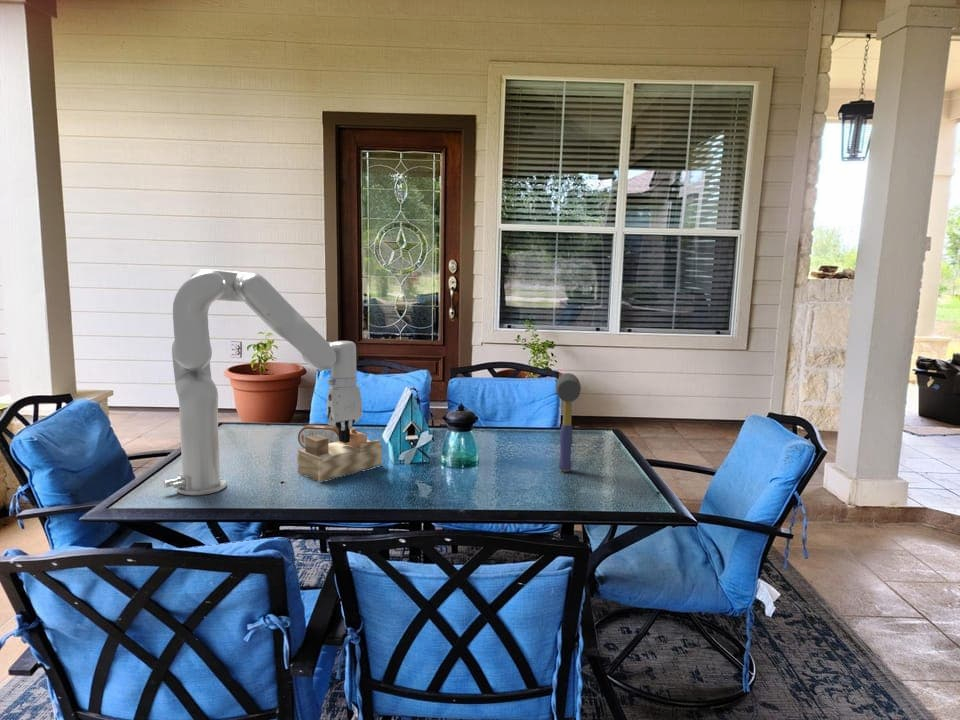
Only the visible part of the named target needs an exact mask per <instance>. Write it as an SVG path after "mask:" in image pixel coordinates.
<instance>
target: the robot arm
mask: <svg viewBox="0 0 960 720" xmlns="http://www.w3.org/2000/svg"><path fill="white" fill-rule="evenodd" d="M215 301H225V302H227V301H229V302H242V303H245V304H246V305H247V307H249V309H251V310H252V311H253V312H254V313H255V314H256V316H258V318H260V319H261V320H262V321H263V322H264V323H265V324H266V326H268V327H269V328H270V329H271V331H273V332H274V333H275V334H277V335H278V336H279V337H281V338H282V339H284V340H285V341H287V342H288V343H289V344H290V345H292V346H293V347H294V349H296V350H297V351H298V352H299V353H300V354H301V357H302V359H303V361H304V362H305V363H306V364H307V365H309V366H311V367H313V368H314V369H316V370H318V371H328V370H330V379H329V380H328V381H327V385H328V386H330V387H329V388H328V392H327V399H326V418H327V420H328V421H327V426H335V427H337V429H339V441H340V442H342V443H348V442H350V429H352V428H353V425H354V424H355V422H356V423H357V422H359V421H360V419H361V418H362V416H363V402H362V401H363V400H362V395H361V389H360V386H359V385H357V346H356V343H355V342H354V341H350V340H336V341H327V340H326V339H325V338H324V337H323V335H322V334H321V333H319V332H318V330H316V328H314V327H313V326H312V325H311V324H310V323H309V322H308V321H307V320H306V319H305V318H304V317H303V316H302V315H301V314H300V313H299V312H298V311H297V310H296V308H294V307H293V306H292V304H290V303H289V301H288V300H286V299H285V298H284V297H283V296H282V294H280V293H279V291H277V289H276V288H275V287H274V286H273V285H272V284H271V283H270V282H269V281H268V280H267V279H266V278H265V277H264V276H263V275H260V274H258V273H257V272H256V273H255V272H244V271H243V272H241V271H231V270H219V269H209V268H202V269H197V270H196V271H194V272H193V273H192V274H191V276H190V277H189V278H188V279H187V281H185V282H184V283H183V284H182V285H181V286H180V287H179V289H178V291H177V292H176V294H175V297H174V300H173V304H172V322H173V337H174V338H173V339H174V340H173V342H172V345H171V358H172V367H173V375H174V383H175V390H176V394H177V398H178V405H179V408H178V409H179V435H180V452H181V455H180V456H181V470H182V471H181V472H179V473H178V476H175V478H174V479H168V480H164V481H163V488H165V489H166V488H171V487H172V488H173V489H176V491H177V493H179V494H181V495H186V496H204V495H209V494H214V493H217V492H220V491H222V490H223V489H225V488H226V487H227V480H226V479H225V478H222V477H221V469H220V468H221V465H220V464H221V463H220V442H219V441H220V440H219V439H220V438H219V436H220V435H219V422H218V421H219V419H218V418H219V412H218V411H219V394H218V393H219V392H218V387H217V385H216V384H215V382H214V380H213V379H212V373H211V372H212V370H211V362H210V361H211V359H212V353H213V351H212V350H213V349H212V346H211V345H212V344H211V341H210V339H211V338H210V331H209V315H208V314H209V308H210V306H211V305H212V304H213V302H215Z"/></svg>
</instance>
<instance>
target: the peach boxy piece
mask: <svg viewBox="0 0 960 720" xmlns="http://www.w3.org/2000/svg"><path fill="white" fill-rule="evenodd" d="M367 436H368V435H367V434H366V433H363V432H360V431H357V428H356V427H352V428H351V429H350V442H348V443H347V444H350V445H352V446H355V447H358V448H359V444H361V443H365V442H367V440H368V437H367Z"/></svg>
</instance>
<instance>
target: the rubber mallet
mask: <svg viewBox="0 0 960 720" xmlns="http://www.w3.org/2000/svg"><path fill="white" fill-rule="evenodd" d="M581 387H582V386H581V383H580V380H579V379H578V377H577V376H576V375H575V374H573V373H570V372H569V373H563V374H561V375H560V376H559V377H558V379H557V382H556V385H555V391H556V394H557V395H558V398H559V399H560V400H562V401H563V415H562V424H561V427H560V435H559V445H560V450H559V451H560V453H559V455H560V456H559V462H558V468H559V469H560V471H561V472H570V471H571V469H572V460H571V457H572V455H571V454H572V445H573V426H572V411H573V410H572V409H573V408H572V407H573V405H572V404H573V402H574V401H576V400H577V399H578V398H579V397H580V394H581V389H582V388H581Z"/></svg>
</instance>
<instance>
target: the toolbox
mask: <svg viewBox="0 0 960 720" xmlns="http://www.w3.org/2000/svg"><path fill="white" fill-rule="evenodd" d="M337 442H339V443H342V442H340V441H337ZM380 442H381V441H380V439H374V440H369V439H367V442H365V443H361V444H359V448H358V447H355V446H352V445H350V444H347V443H342V444H344V445H347V446H350V447H353V448H356V449H358V450H359V453H357V454H353V455H348V456H344V457H340V458H336V459H331V460H327V461H323V462H318V461H316V460H313V459H311V458H308V457H306V456H303V455H301V454H299V453H298V452H297V453H296V455H297V461H296V463H297V473H298V472H299V473H301V474H303V475H302V476H304V475H306V476H308V477H310V478H312V479H311V480H313V479H314V480H313V481H315V480H317V481H319V482H321V481H325V480H329V479H333V478H336V479H338V478H337V477H340V476H344V475H348V474H352V473H355V472H359V471H363V470H367V469H370V468H373V467H377V466H380V465H382V464H383V461H382V460H383V456H382V455H383V453H382V452H383V451H382V448H383V447H382V444H381V443H380ZM382 466H383V465H382ZM367 471H368V470H367ZM363 472H364V471H363ZM299 473H298V474H299ZM359 473H360V472H359ZM301 474H300V475H301ZM352 475H353V474H352ZM306 476H305V477H306ZM348 476H349V475H348ZM308 477H307V478H308ZM344 477H345V476H344ZM310 478H309V479H310ZM340 478H341V477H340ZM333 480H334V479H333ZM317 481H316V482H317ZM329 481H330V480H329ZM319 482H318V483H319ZM325 482H326V481H325ZM321 483H322V482H321Z"/></svg>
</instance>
